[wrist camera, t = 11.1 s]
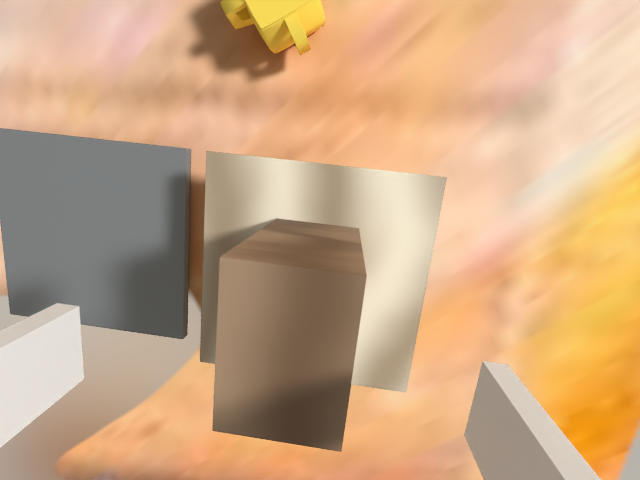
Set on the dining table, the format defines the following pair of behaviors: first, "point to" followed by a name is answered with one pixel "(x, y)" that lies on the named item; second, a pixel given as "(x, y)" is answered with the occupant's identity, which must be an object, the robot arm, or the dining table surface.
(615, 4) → the dining table surface
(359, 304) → the lid
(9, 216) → the mat
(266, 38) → the teapot
